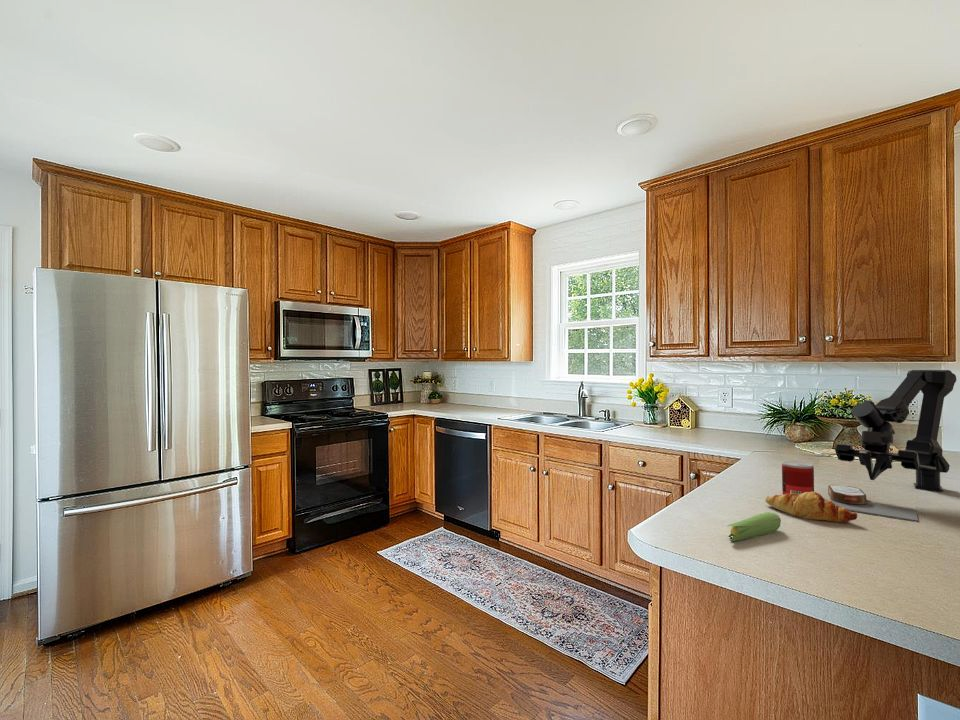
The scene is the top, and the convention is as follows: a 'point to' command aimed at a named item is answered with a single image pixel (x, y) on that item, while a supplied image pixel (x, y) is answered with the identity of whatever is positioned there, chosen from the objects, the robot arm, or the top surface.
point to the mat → (880, 510)
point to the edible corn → (755, 526)
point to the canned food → (797, 477)
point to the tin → (847, 494)
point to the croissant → (811, 507)
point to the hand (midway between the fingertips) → (871, 479)
